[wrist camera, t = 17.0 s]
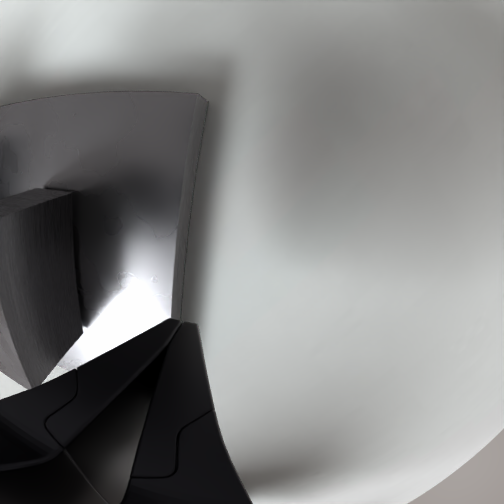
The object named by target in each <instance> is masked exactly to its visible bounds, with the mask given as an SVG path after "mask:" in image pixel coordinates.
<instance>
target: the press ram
mask: <svg viewBox="0 0 504 504" xmlns="http://www.w3.org/2000/svg"><path fill="white" fill-rule="evenodd" d="M83 333H84V332H83V326H82V320H81V314H80V307H79V300H78V292H77V283H76V273H75V261H74V244H73V193H72V192H65V191H58V190H50V189H42V188H35V189H32V190H28V191H25V192H21V193H18V194H15V195H11V196H8V197H5V198H2V199H0V371H1V372H3V373H4V374H5V375H7V376H8V377H10V378H11V379H13V380H14V381H16V382H17V383H19V384H20V385H22V386H23V387H25V388H27V389H28V390H29V389H31V388H34V387H36V386H39V385H41V384H42V382H43V381H44V380H45V379H46V377H47V376H48V375H49V374H50V372H51V371H52V370H53V369H54V367H55V366H56V365H57V364H58V363H59V361H60V360H61V359H62V358H63V357H64V355H65V354H66V353H67V352H68V351H69V349H70V348H71V347H72V346H73V345H74V344H75V342H76V341H77V340H78V339H79V338H80V337H81V336H82V334H83Z"/></svg>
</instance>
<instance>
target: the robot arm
mask: <svg viewBox="0 0 504 504" xmlns="http://www.w3.org/2000/svg"><path fill="white" fill-rule="evenodd" d="M0 504H253V503H252V501H251V499H250V498H249V496H248V494H247V492H246V490H245V488H244V486H243V484H242V482H241V480H240V478H239V476H238V474H237V472H236V470H235V467H234V465H233V463H232V461H231V459H230V456H229V454H228V451H227V449H226V446H225V444H224V441H223V438H222V435H221V431H220V428H219V424H218V420H217V416H216V412H215V408H214V403H213V399H212V394H211V389H210V385H209V380H208V375H207V370H206V365H205V360H204V354H203V349H202V343H201V338H200V332H199V326H198V325H197V324H195V323H190V322H182V321H181V320H177V319H172V318H168V319H166V320H164V321H162V322H161V323H159V324H157V325H155V326H153V327H151V328H150V329H148V330H146V331H144V332H142V333H140V334H139V335H137V336H135V337H133V338H131V339H129V340H127V341H126V342H124V343H122V344H120V345H118V346H116V347H114V348H113V349H111V350H109V351H107V352H105V353H103V354H101V355H99V356H97V357H96V358H94V359H92V360H90V361H88V362H86V363H84V364H82V365H80V366H79V367H77V369H73V370H71V371H69V372H67V373H65V374H63V375H61V376H59V377H57V378H55V379H53V380H50V381H48V382H46V383H44V384H41V385H39V386H36V387H34V388H31V389H29V390H26V391H23V392H21V393H18V394H15V395H12V396H9V397H7V398H4V399H1V400H0Z"/></svg>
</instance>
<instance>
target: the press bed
mask: <svg viewBox="0 0 504 504" xmlns="http://www.w3.org/2000/svg"><path fill="white" fill-rule="evenodd" d="M208 103H209V102H208V101H207V100H206V99H204V98H203V97H202V96H200V95H199V94H196V93H182V92H161V91H116V92H96V93H83V94H72V95H63V96H55V97H48V98H41V99H35V100H29V101H24V102H19V103H14V104H9V105H5V106H1V107H0V199H2V198H5V197H8V196H11V195H15V194H18V193H21V192H25V191H28V190H32V189H35V188H42V189H50V190H58V191H65V192H72V193H73V244H74V261H75V273H76V283H77V292H78V300H79V307H80V314H81V320H82V326H83V332H84V333H83V334H82V336H81V337H80V338H79V339H78V340H77V341H76V342H75V344H74V345H73V346H72V347H71V348H70V349H69V351H68V352H67V353H66V354H65V355H64V357H63V358H62V359H61V360H60V361H59V363H58V364H57V365H58V366H60V367H62V368H64V369H67V370H69V371H71V370H73V369H77V367H79V366H80V365H82V364H84V363H86V362H88V361H90V360H92V359H94V358H96V357H97V356H99V355H101V354H103V353H105V352H107V351H109V350H111V349H113V348H114V347H116V346H118V345H120V344H122V343H124V342H126V341H127V340H129V339H131V338H133V337H135V336H137V335H139V334H140V333H142V332H144V331H146V330H148V329H150V328H151V327H153V326H155V325H157V324H159V323H161V322H162V321H164V320H166V319H168V318H172V319H177V320H181V306H182V293H183V281H184V269H185V259H186V249H187V240H188V231H189V223H190V215H191V207H192V199H193V192H194V185H195V178H196V171H197V165H198V159H199V153H200V147H201V141H202V135H203V129H204V124H205V119H206V113H207V108H208Z"/></svg>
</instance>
